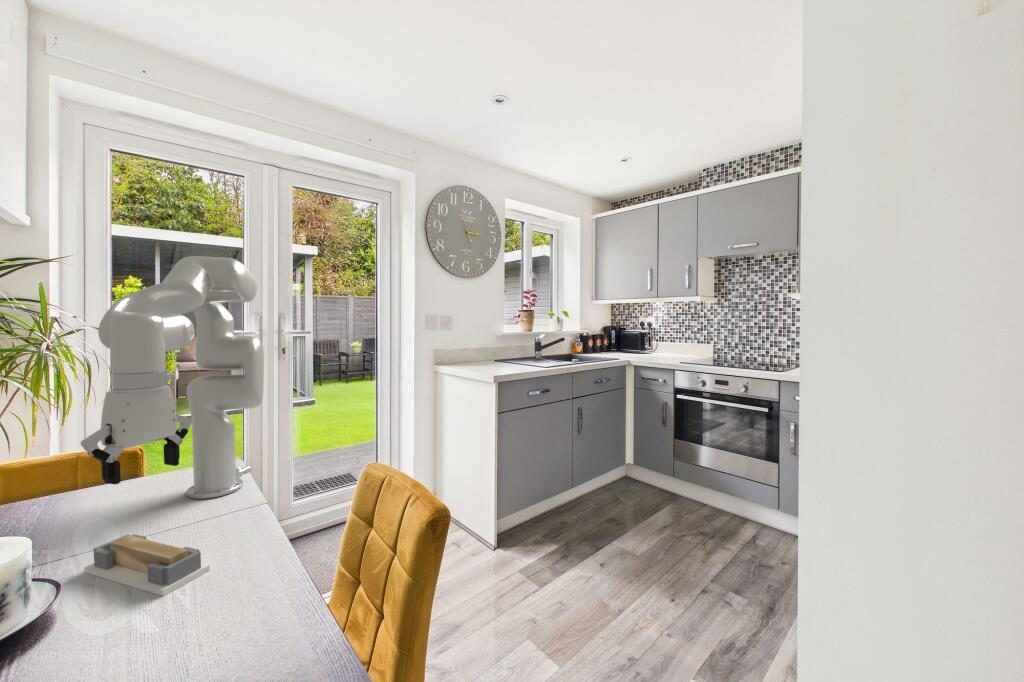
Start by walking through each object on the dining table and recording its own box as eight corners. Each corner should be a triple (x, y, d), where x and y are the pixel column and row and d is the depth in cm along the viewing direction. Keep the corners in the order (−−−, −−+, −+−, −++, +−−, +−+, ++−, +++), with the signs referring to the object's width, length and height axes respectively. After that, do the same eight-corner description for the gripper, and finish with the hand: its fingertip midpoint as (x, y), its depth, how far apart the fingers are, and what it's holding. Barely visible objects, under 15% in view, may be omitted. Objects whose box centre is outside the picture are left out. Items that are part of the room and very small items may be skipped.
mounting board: (134, 550, 87) (133, 531, 87) (209, 570, 80) (209, 549, 80) (84, 572, 79) (83, 551, 79) (163, 596, 73) (162, 573, 72)
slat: (129, 555, 83) (128, 535, 83) (188, 571, 78) (187, 549, 78) (111, 563, 80) (110, 543, 80) (171, 580, 75) (170, 558, 75)
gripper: (175, 374, 88) (178, 456, 89) (65, 387, 71) (70, 488, 72) (202, 376, 85) (204, 460, 86) (95, 390, 69) (99, 494, 70)
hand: (143, 473), depth 79 cm, fingers open, 9 cm apart
